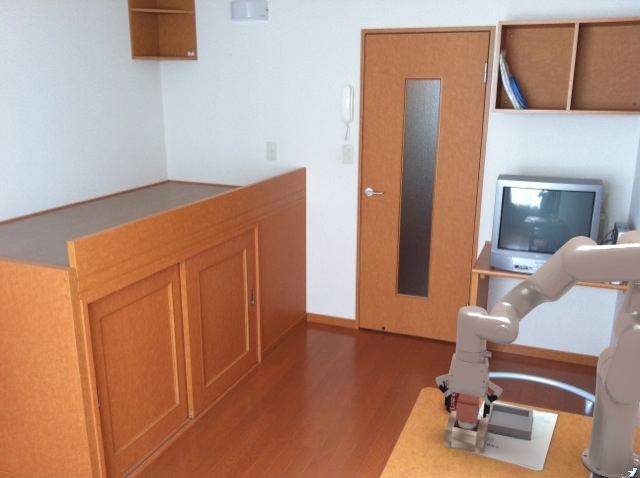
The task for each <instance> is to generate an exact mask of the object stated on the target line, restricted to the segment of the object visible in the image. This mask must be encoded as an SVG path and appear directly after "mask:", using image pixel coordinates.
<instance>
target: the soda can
mask: <svg viewBox="0 0 640 478" xmlns="http://www.w3.org/2000/svg"><path fill="white" fill-rule="evenodd" d="M448 373H450V369H449V371H448ZM448 382H449V380H446V381H445V386H446V387H448ZM451 394H452V397H451V407H450V409H449V410H448V411H450V412H451V411H456V407H457V401H458V398H459V395H460V393H456V392H452V393H451ZM465 395H466V394H465Z"/></svg>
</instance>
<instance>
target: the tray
mask: <svg viewBox="0 0 640 478" xmlns="http://www.w3.org/2000/svg"><path fill="white" fill-rule="evenodd" d="M533 416H534V409H529V408H523V407H518V406H513V405H508V404H503V403H496V402H492V403H491V404H490V413H489V414H487V415H486V417H488V433H492V434H497V435H501V436H506V437H507V436H508V437H513V438H518V439H522V440H526V441H527V440H528V441H531V434H532V428H533V427H532V426H533Z"/></svg>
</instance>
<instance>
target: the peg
mask: <svg viewBox="0 0 640 478" xmlns="http://www.w3.org/2000/svg"><path fill="white" fill-rule="evenodd" d="M480 399H481V397H476V396H471V395H465V394H460V395H459V398H458V401H457V407H456V420H458V428H461V429H466V430H471V431H476V421H477V418H478V416H479V415H480Z"/></svg>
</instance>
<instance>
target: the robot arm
mask: <svg viewBox="0 0 640 478" xmlns="http://www.w3.org/2000/svg"><path fill="white" fill-rule="evenodd" d="M579 282H582V283H619V282H620V283H621V282H628V285H627V289H626V291H625V295H624V297H623V301H622V303H621V306H620V309H619V310H618V311H619V312H618V314H617V316H616V318H615V321H614V324H613V330H614V331H613V332H614V335H615V338H616V344H613V345H612V344H611V345H609V346H607V347H605V348H604V349H603V350H602V351H601V353H600V354H599V356H598V360H597V363H596V382H595V384H596V385H595V397H594V403H593V404H594V405H593V412H592V421H591V430H590V440H589V446H588V447H587V448H585V449H584V450H583V451H582V452H581V461H582V463H583V465H584V466H585V468H587V469H588V470H589V471H590V472H592V473H594V474H596V475H597V476H600V475H601V476H600V477H602V476H604V477H603V478H605V477H609V478H622V477H628V476H629V475H630V474H631V473H630V472H628V471H633V468H637V469H638V468H640V454H636V452H634V443H635V442H634V441H635V433H636V427H637V426H636V425H637V419H638V413H639V404H640V230H635V229H634V230H633V229H632V230H629V231H626V232H624V233H623V234H621V235H620V236H619V237H618V239H617V241H616V244H602V245H601V244H600V245H599V244H598V243H597V242H596V241H594V240H593V239H592V238H591V237H587V236H584V235H580V236H575V237H573V238H570V239H569V240H568V241H566V242H565V243H564V244H563V245H562V246H561V247H559V249H558V250H557V251H555V252H554V253H553V255H552V256H551V257H549V258H548V259H547V260H546V261H545V262H544V263H543V264H542V265H540V267H539V268H537V270H535V271H534V272H533V273H532V274H531V275H530V276H528V277H526V278H525V279H524V280H522V281H520V282H519V283H517V285H515V286H514V287H513V288H512V289H510V290H509V291H508V292H507V293H506V294H505V295H504V296H502V297H501V299H500V300H499V301H498V302H496V303H495V305H494V306H493V307H492V309H491V310H490V312H489V313H488V312H487V310H486V309H485V308H483V307H481V306H477V305H466V306H463V307H460V309H458V312H457V323H456V324H457V326H456V339H455V340H456V341H455V353H453V354H452V357H451V363H450V367H449V370H450V373H449V372H448V373H446V374H442V375H438V376H436V377H435V379H434V380H435V382H436V385H437V386H438V390H440V392H441V393H442V394H443V397H444V406H445V407H446V411H450V410H449V409H450V407H451V397H452V394H451V393H452V392H456V393H460V394H466V395H470V396H476V397H480V398H481V399H482V400H483V401H484V402H483V414H482V416H483V417H484V418H486V416H487V414H489V413H490V404H491V403H495V402H496V401H498V399H499V398H500V396H501V394H503V388H502V387H501V386H499V385H497V384H495V382H493V381H492V380H490V364H489V358H491V357H492V352H491V351H488V349H487V341H488V342H491V343H494V344H498V345H504V346H506V345H511V344H513V343H514V342H515V341H516V340H517V338H518V337H519V333H520V332H519V331H520V322H521V321H522V320H523V319H524V318H525V317H526V316H527V315H528V314H530V312H532V311H533V310H534V309H536V307H539V306H540V305H542V304H545V303H554V302H558V301H559V300H560V299H562V297H564V296H565V295H566V294H567V293H568V292H569V291H570V290H571V289H573V287H575V285H577V284H579ZM446 380H449V382H448V387H446V384H445V383H443V382H446ZM489 389H491V390H493V392H494V393H492V394H490V393H489V392H488V391H489ZM621 474H624V475H621Z"/></svg>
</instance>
